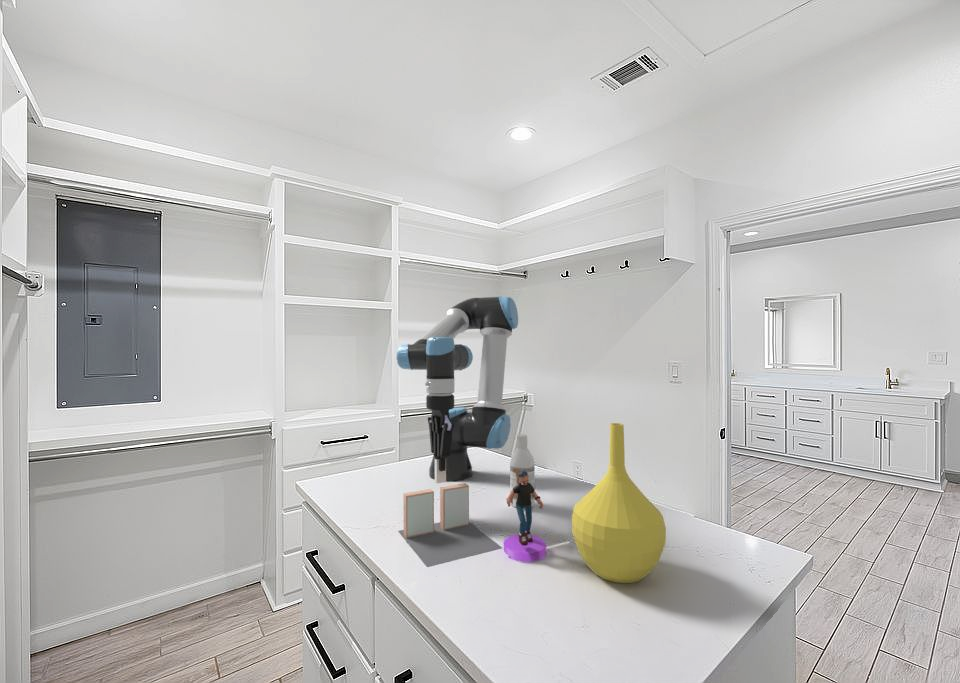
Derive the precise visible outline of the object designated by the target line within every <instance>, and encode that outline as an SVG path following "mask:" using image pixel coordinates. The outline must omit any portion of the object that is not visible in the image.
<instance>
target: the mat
mask: <svg viewBox="0 0 960 683" xmlns="http://www.w3.org/2000/svg"><path fill="white" fill-rule="evenodd" d="M397 532H398V533H399V534H400V536H401V537H402V538H403V540H405V541H406V543H407V544H408V545H409V547H410V548H411V549H412V551H413V552H414V553H415V554H416V555H417V556H418V558H419V559H420V560H421V562H422V563H423V564H424V565H425V566H426V567H427V568H429V567H433V566H437V565H442V564H445V563H449V562H453V561H457V560H461V559H466V558H469V557H473V556H476V555H481V554H484V553H488V552H492V551H496V550H500V549H503V547H502V546H500V544H498V543H497V542H495V541H494V540H493V539H492V538H490V537H489V536H488V535H487V534H486V533H484V532H483V531H482V530H481V529H479V528H478V527H477V525H474V524H473V523H472V522H471V521H469V525H466V526H461V527H457V528H452V529H447V530H443V529H442V528H440V521H439V522H434V532H433V533H429V534H424V535H419V536H415V537H410V538H406V537H405V536H404V529H400V530H398V531H397Z"/></svg>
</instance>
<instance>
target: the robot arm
mask: <svg viewBox="0 0 960 683" xmlns="http://www.w3.org/2000/svg"><path fill="white" fill-rule="evenodd" d="M518 313H519V312H518V308H517V305H516V303H515V301H514V299H513V298H512V297H510V296H501V295H500V296H488V297H487V296H486V297H471V298H468V299H465V300H463V301H461V302H459V303H457V304H455V305H453V307H451V308H449V309H448V310H447V311H446V312H445V315H444V317H443V318H442V319H441V320H440V321H439V322H437V323H436V324H435V325H433V327H432V328H430V329H429V330H428V331H427V332H426V333H425V334H423V335H422V336H421V337H420V338H419V339H418V340H416V341H415V342H414V343H413V344H410V343H408V344H402V345H400V346H399V347H398V349H397V352H396V361H397V365H398V366H399V367H400V369H402V370H411V371H413V370H414V371H415V370H421V371H422V370H425V371H426V382H424V386H425V387H426V394H427V395H426V398H425V399H426V404H425V406H426V409H427V410H430V411H431V416H428V417H427V423H428V430H429V442H430V443H429V444H430V452H431V454H433V456H432V459H431V463H430V466H429V470H428V471H429V472H428V473H429V477H430V478H431V479H434V483H435V484H440V483H441V484H442V483H447V481H448V482H449V481H451V482H452V481H460V480H465V479H467V478H468V479H469V478H471V477H472V475H473V466H472V464H471V460H470V457H469V454H468V447H470V448H480V449H481V448H482V449H489V450H491V449H496V450H499V449H502V448H503V447H504V446H505V445H506V443H507V442H508V439H509V436H510V432H511V417H510V415H509V414H506V412H507V410H506V407H504V405H503V395H504V394H503V393H504V381H505V368H506V358H507V346H508V344H507V343H508V338H510V337H511V336H512V334H513V330H515V329H517V327H518V325H519V314H518ZM467 330H479V333H480V334H481V336H482V337H483V338H482V340H483V341H482V347H481V348H482V350H481V357H480V358H481V359H480V370H479V371H480V372H479V378H478V379H479V380H478V381H479V382H478V390H477V401H476V403H475V404H474V405H473V406H471V407H472V408H471V409H472V410H471V412H469V411H468V408H467V407H463V406H462V407H455V395H454V393H455V371H462V370H465V369H467V368H469V367H470V366H471V365H472V362H473V359H474V355H473V352H472V350H471V348H469V346H467V345H464V344H459V343H457V344H455V340H454V339H455V338H456V337H457V336H458V335H459V334H462V333H465V332H466V331H467Z"/></svg>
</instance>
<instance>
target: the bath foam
mask: <svg viewBox="0 0 960 683" xmlns="http://www.w3.org/2000/svg"><path fill="white" fill-rule="evenodd" d="M509 463H510V464H509V465H510V466H509V478H510V479H509V480H510V481H509V483H510V484H509V485H510V486H509V493H510V492H511V491H512V490H513V488H514V487H515V486H517V485H518V484H519V483H521V481H520V480H519V477H518V476H517V475H519V473H520V472H521V471H526V472H527V473H528V476H529V477H528V483H531V485H532V486H533V488H534V489H536V486H535V485H536V483H535V482H536V480H535V479H536V478H535V477H536V476H535V471H536V470H535V466H536V464H535V460H534V456H533V455H532V453H531V452H530V450H529V448H528V435H527V434H522V433H521V434H517V435H516V449H515V451H514V452H513V453H512V456H511V457H510V462H509ZM517 498H518V493H517V494H515V495H514V497H513V505H512V504H511V503H510V507H513V508H515V509H517V508H516V501H517ZM535 501H536V500H535V498H534V497H533V495H532V494H531V503H532V504H531V507H532V508H533V507H534V506H535V504H536V503H535ZM523 510H525V508H523Z"/></svg>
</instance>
